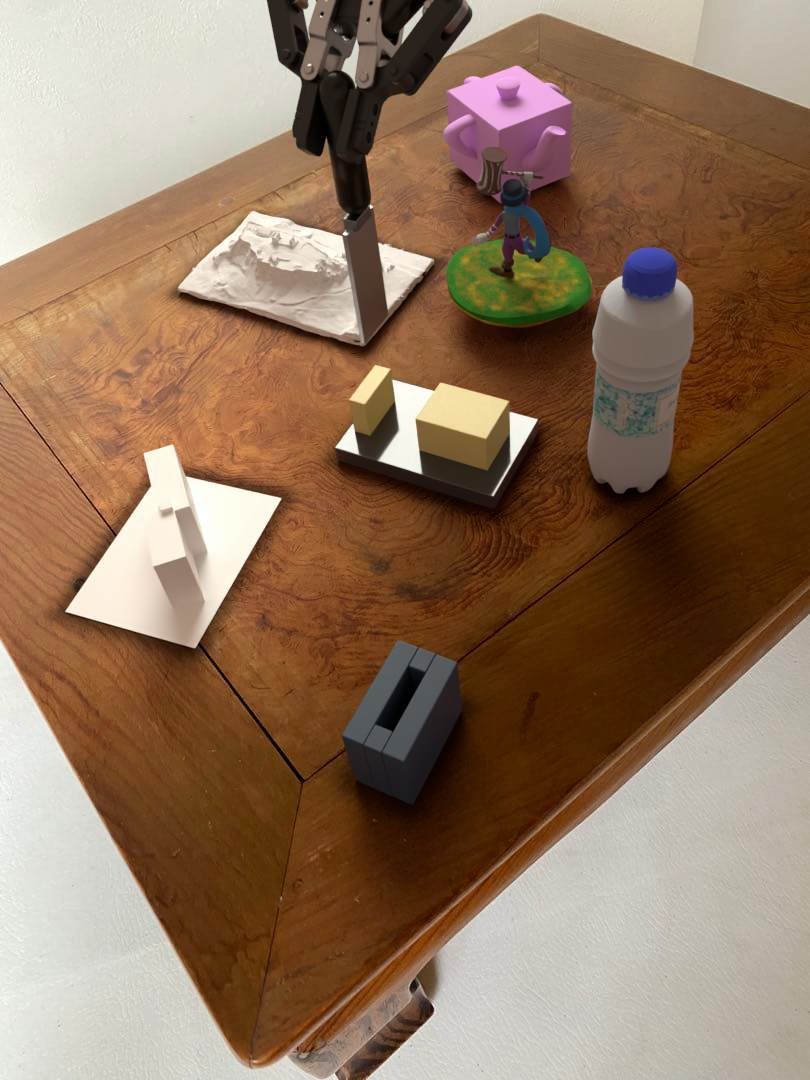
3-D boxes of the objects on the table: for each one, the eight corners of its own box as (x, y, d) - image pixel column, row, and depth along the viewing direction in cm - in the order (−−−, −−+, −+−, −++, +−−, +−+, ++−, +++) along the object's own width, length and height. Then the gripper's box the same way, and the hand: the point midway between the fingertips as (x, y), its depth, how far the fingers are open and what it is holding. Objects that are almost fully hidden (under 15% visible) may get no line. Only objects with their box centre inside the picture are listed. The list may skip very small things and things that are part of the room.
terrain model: (382, 362, 90) (377, 318, 86) (164, 311, 96) (150, 268, 92) (445, 254, 99) (444, 210, 95) (242, 213, 105) (233, 170, 101)
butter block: (510, 432, 79) (509, 400, 77) (487, 471, 77) (486, 439, 74) (442, 413, 81) (440, 381, 79) (418, 450, 79) (414, 418, 76)
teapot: (613, 196, 101) (621, 99, 93) (497, 243, 98) (495, 148, 90) (518, 124, 112) (518, 32, 104) (410, 165, 109) (401, 73, 101)
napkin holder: (159, 470, 83) (138, 421, 78) (282, 496, 79) (268, 446, 75) (63, 613, 74) (34, 566, 70) (197, 649, 71) (175, 602, 66)
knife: (399, 317, 73) (365, 60, 58) (376, 347, 71) (335, 89, 56) (373, 310, 74) (333, 55, 59) (349, 340, 72) (302, 84, 57)
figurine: (617, 291, 92) (631, 139, 80) (545, 371, 86) (548, 219, 74) (492, 248, 98) (488, 100, 86) (416, 320, 92) (400, 172, 80)
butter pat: (395, 400, 83) (391, 368, 80) (370, 436, 81) (364, 404, 78) (379, 396, 84) (375, 364, 81) (354, 431, 81) (348, 399, 78)
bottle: (659, 512, 75) (695, 295, 59) (573, 492, 77) (585, 278, 61) (679, 450, 78) (717, 231, 63) (595, 433, 80) (612, 217, 65)
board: (538, 432, 81) (538, 419, 80) (494, 509, 76) (493, 496, 75) (387, 390, 86) (385, 377, 85) (337, 460, 81) (334, 447, 80)
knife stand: (462, 709, 66) (458, 661, 61) (413, 805, 62) (403, 762, 57) (406, 687, 67) (397, 639, 63) (354, 780, 63) (340, 735, 59)
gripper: (264, -196, 56) (198, 119, 59) (489, -188, 51) (405, 155, 54) (326, -122, 63) (264, 156, 66) (530, -109, 58) (453, 192, 61)
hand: (328, 154), depth 60 cm, fingers closed on knife, 2 cm apart
